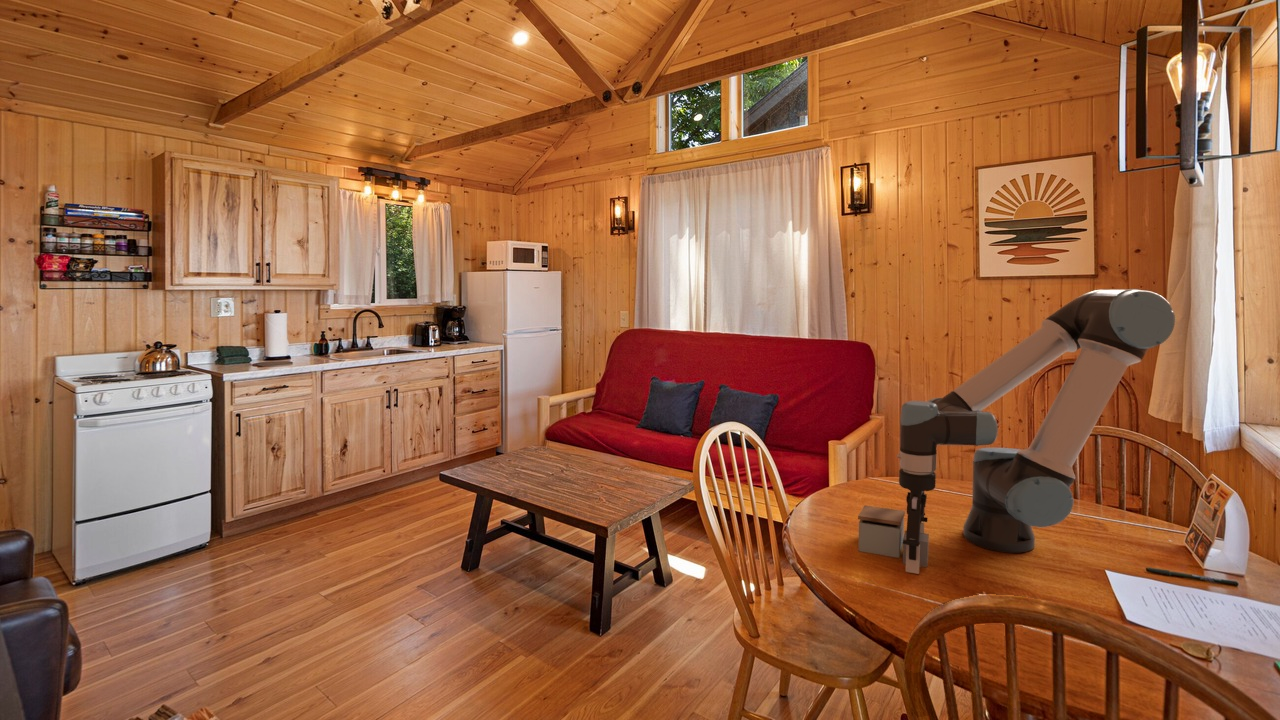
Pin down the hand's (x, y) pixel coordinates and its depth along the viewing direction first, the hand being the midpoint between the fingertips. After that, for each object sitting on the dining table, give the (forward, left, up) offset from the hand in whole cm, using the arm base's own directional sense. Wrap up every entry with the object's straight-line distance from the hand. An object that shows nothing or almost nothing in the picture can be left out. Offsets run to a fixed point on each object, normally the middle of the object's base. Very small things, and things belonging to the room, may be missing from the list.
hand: (914, 560), depth 139 cm
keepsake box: (+8, -5, 0) cm, 9 cm away
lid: (+8, -5, +7) cm, 12 cm away
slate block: (0, 0, 0) cm, 0 cm away
